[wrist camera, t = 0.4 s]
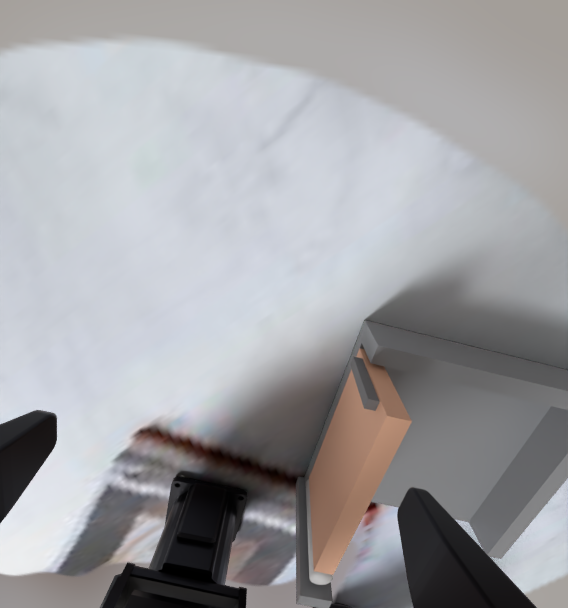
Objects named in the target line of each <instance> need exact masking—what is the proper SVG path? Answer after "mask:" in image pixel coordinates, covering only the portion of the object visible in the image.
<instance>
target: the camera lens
mask: <svg viewBox="0 0 568 608" xmlns="http://www.w3.org/2000/svg"><path fill="white" fill-rule="evenodd" d="M313 608H316V607H313ZM329 608H351V607H348V606H345V605H341V604H331V605H330V607H329Z"/></svg>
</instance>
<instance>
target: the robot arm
mask: <svg viewBox="0 0 568 608" xmlns="http://www.w3.org/2000/svg"><path fill="white" fill-rule="evenodd" d="M56 441H57V416H56V415H55V414H54V413H51V412H46V411H42V410H36V411H33V412H30V413H28V414H25V415H23V416H20V417H18V418H15V419H13V420H10V421H8V422H5V423H3V424H0V523H1V522H2V521H3V519H4V518H5V517H6V515H7V514H8V513H9V511H10V510H11V509H12V507H13V506H14V505H15V503H16V502H17V500H18V499H19V497H20V496H21V495H22V493H23V492H24V490H25V489H26V487H27V486H28V485H29V483H30V482H31V480H32V479H33V477H34V476H35V475H36V473H37V472H38V470H39V469H40V467H41V466H42V465H43V463H44V462H45V460H46V459H47V457H48V456H49V455H50V453H51V452H52V450H53V449H54V447H55V444H56ZM246 500H247V492H246V491H244V490H241V489H236V488H231V487H226V486H221V485H216V484H212V483H207V482H202V481H197V480H192V479H187V478H182V477H175V478H174V479H173V482H172V484H171V490H170V497H169V503H168V509H167V515H166V522H165V527H164V530H163V532H162V535H161V538H160V540H159V543H158V545H157V548H156V551H155V553H154V556H153V559H152V561H151V564H150V566H149V569H148V568H143V567H139V566H135V564H133V563H127V564H126V567H125V569H124V570H123V572H122V574H119V575H116V576H115V577H114V579H113V581H112V583H111V585H110V588H109V590H108V592H107V594H106V596H105V598H104V600H103V603H102V604H101V606H100V608H246V594H247V589H246V588H243V587H239V588H235V587H230V586H226V585H225V581H226V575H227V569H228V563H229V558H230V552H231V546H232V542H233V541H234V540H235V538H236V534H237V531H238V527H239V524H240V521H241V517H242V514H243V510H244V507H245V504H246ZM397 515H398V524H399V530H400V536H401V542H402V549H403V555H404V561H405V567H406V573H407V579H408V584H409V589H410V594H411V598H412V603H413V607H414V608H537V607H536V606H535V605H534V604H533V603H532V602H531V601H530V600H529V599H528V598H527V597H526V596H525V595H524V593H523V592H522V591H521V590H520V589H519V588H518V587H517V586H516V585H515V584H514V583H513V582H512V581H511V580H510V578H509V577H508V576H507V575H506V574H505V573H504V572H503V571H502V570H501V569H500V568H499V567H498V566H497V565H496V564H495V562H494V561H493V560H492V559H491V558H490V557H489V556H488V555H487V554H486V553H485V552H484V551H483V550H482V549H481V547H480V546H479V545H478V544H477V543H476V542H475V541H474V540H473V539H472V538H471V537H470V536H469V535H468V534H467V533H466V531H465V530H464V529H463V528H462V527H461V526H460V525H459V524H458V523H457V522H456V521H455V520H454V519H453V518H452V516H451V515H450V514H449V513H448V512H447V511H446V510H445V509H444V508H443V507H442V506H441V505H440V504H439V503H438V502H437V500H436V499H435V498H434V497H433V496H432V495H431V494H430V493H429V492H428V491H426V490H424V489H420V488H415V487H411V488H409V489H408V491H407V492H406V494H405V496H404V498H403V500H402V502H401V504H400V506H399V509H398V514H397Z"/></svg>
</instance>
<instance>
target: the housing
mask: <svg viewBox="0 0 568 608" xmlns="http://www.w3.org/2000/svg"><path fill="white" fill-rule="evenodd" d="M359 348H360V349H364V350H365V351H366V354H367V356H368V358H369V361H370V363H372V364H376V365H380V366H384V367H385V369H386V371H387V373H388V375H389V377H390V379H391V381H392V383H393V385H394V387H395V389H396V391H397V393H398V395H399V397H400V399H401V401H402V403H403V405H404V407H405V409H406V411H407V413H408V415H409V417H410V419H411V421H412V422H411V424H410V426H409V428H408V430H407V432H406V434H405V436H404V438H403V440H402V442H401V444H400V446H399V448H398V450H397V452H396V454H395V455H394V457H393V459H392V461H391V463H390V465H389V467H388V469H387V471H386V473H385V475H384V477H383V479H382V481H381V483H380V485H379V487H378V489H377V490H376V492H375V494H374V496H373V498H372V500H371V502H375V503H380V504H385V505H390V506H394V507H399V506H400V504H401V502H402V500H403V498H404V496H405V494H406V492H407V491H408V489H409V488H411V487H415V488H420V489H424V490H426V491H428V492H429V493H430V494H431V495H432V496H433V497H434V498H435V499H436V500H437V502H438V503H439V504H440V505H441V506H442V507H443V508H444V509H445V510H446V511H447V512H448V513H449V514H450V515H451V516H452V518H453V519H457V520H461V521H466V522H469V523H470V525H471V527H472V529H473V531H474V533H475V535H476V537H477V539H478V540H479V542H480V544H481V546H482V548H483V550H484V552H485V553H486V554H487V555H488V556H490V557H495V558H500V559H501V558H502V557H503V556H504V555H505V553H506V552H507V551H508V550H509V549H510V547H511V546H512V545H513V544H514V542H515V541H516V540H517V539H518V538H519V536H520V535H521V534H522V533H523V532H524V530H525V529H526V528H527V527H528V526H529V524H530V523H531V522H532V521H533V519H534V518H535V517H536V516H537V515H538V513H539V512H540V511H541V510H542V509H543V507H544V506H545V505H546V504H547V502H548V501H549V500H550V499H551V498H552V496H553V495H554V494H555V493H556V492H557V490H558V489H559V488H560V487H561V486H562V484H563V483H564V482H565V481H566V479H567V478H568V370H566V369H562V368H558V367H554V366H550V365H546V364H541V363H537V362H533V361H529V360H525V359H521V358H517V357H513V356H509V355H505V354H501V353H497V352H493V351H489V350H485V349H481V348H476V347H472V346H468V345H464V344H460V343H456V342H452V341H448V340H444V339H440V338H436V337H432V336H428V335H424V334H420V333H415V332H411V331H407V330H403V329H399V328H395V327H391V326H387V325H383V324H379V323H375V322H371V321H367V320H364V322H363V325H362V328H361V330H360V333H359V335H358V338H357V341H356V343H355V346H354V349H353V351H352V354H351V356H350V359H349V362H348V364H347V367H346V370H345V372H344V375H343V377H342V380H341V383H340V385H339V388H338V391H337V393H336V396H335V398H334V401H333V404H332V406H331V409H330V411H329V414H328V417H327V419H326V422H325V425H324V427H323V430H322V432H321V435H320V438H319V440H318V443H317V446H316V448H315V451H314V453H313V456H312V459H311V461H310V464H309V466H308V469H307V472H306V474H305V478H304V477H298V479H297V482H296V590H297V591H296V598H297V599H296V601H297V602H296V604H300V605H306V606H311V607H316V608H329V607H330V605H331V603H332V591H331V582H330V583H328V584H325V585H317V584H314V583H312V582H311V581H310V579H309V555H308V530H307V504H306V481H307V480H308V479H309V477H310V474H311V471H312V469H313V466H314V464H315V461H316V459H317V456H318V453H319V451H320V448H321V446H322V443H323V441H324V438H325V436H326V433H327V430H328V428H329V425H330V423H331V420H332V418H333V415H334V412H335V410H336V407H337V405H338V402H339V400H340V397H341V394H342V392H343V389H344V387H345V384H346V382H347V379H348V377H349V374H350V371H351V366H350V363H351V361H352V358H353V356H354V357H356V356H357V353H358V351H359Z"/></svg>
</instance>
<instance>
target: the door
mask: <svg viewBox="0 0 568 608" xmlns="http://www.w3.org/2000/svg"><path fill="white" fill-rule="evenodd" d="M350 366H351V371H350V374H349V377H348V379H347V382H346V384H345V387H344V389H343V392H342V394H341V397H340V400H339V402H338V405H337V407H336V410H335V412H334V415H333V418H332V420H331V423H330V425H329V428H328V430H327V433H326V436H325V438H324V441H323V443H322V446H321V448H320V451H319V453H318V456H317V459H316V461H315V464H314V466H313V469H312V471H311V474H310V477H309V479H308V480H307V481H306V504H307V530H308V555H309V579H310V581H311V582H312V583H314V584H317V585H325V584H328V583H330V582H331V581H332V579H333V576H332V575H333V574H334V572H335V570H336V568H337V566H338V564H339V562H340V560H341V559H342V556H343V555H344V553H345V551H346V549H347V547H348V545H349V543H350V541H351V539H352V537H353V535H354V533H355V531H356V529H357V527H358V525H359V524H360V522H361V520H362V518H363V516H364V514H365V512H366V510H367V508H368V506H369V504H370V502H371V500H372V498H373V496H374V494H375V492H376V490H377V489H378V487H379V485H380V483H381V481H382V479H383V477H384V475H385V473H386V471H387V469H388V467H389V465H390V463H391V461H392V459H393V457H394V455H395V454H396V452H397V450H398V448H399V446H400V444H401V442H402V440H403V438H404V436H405V434H406V432H407V430H408V428H409V426H410V424H411V422H412V421H411V419H410V417H409V415H408V413H407V411H406V409H405V407H404V405H403V403H402V401H401V399H400V397H399V395H398V393H397V391H396V389H395V387H394V385H393V383H392V381H391V379H390V377H389V375H388V373H387V371H386V369H385V367H384V366H380V365H376V364H372V363H370V361H369V358H368V356H367V354H366V351H365V350H364V349H360V348H359V351H358V353H357V356H356V357H354V356H353V358H352V361H351V363H350Z"/></svg>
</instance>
